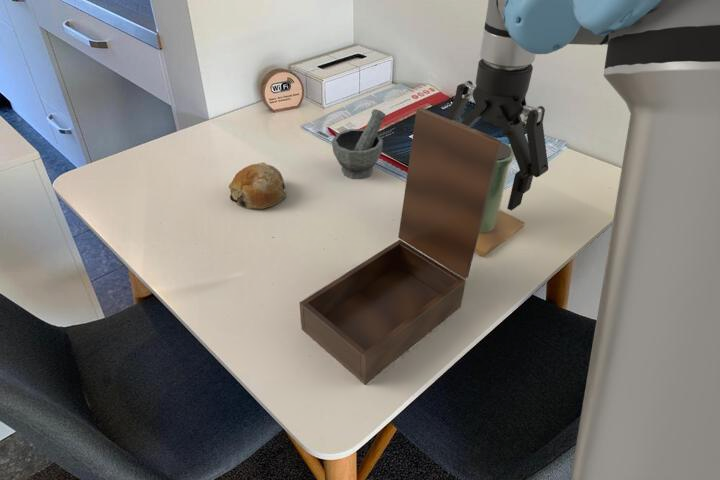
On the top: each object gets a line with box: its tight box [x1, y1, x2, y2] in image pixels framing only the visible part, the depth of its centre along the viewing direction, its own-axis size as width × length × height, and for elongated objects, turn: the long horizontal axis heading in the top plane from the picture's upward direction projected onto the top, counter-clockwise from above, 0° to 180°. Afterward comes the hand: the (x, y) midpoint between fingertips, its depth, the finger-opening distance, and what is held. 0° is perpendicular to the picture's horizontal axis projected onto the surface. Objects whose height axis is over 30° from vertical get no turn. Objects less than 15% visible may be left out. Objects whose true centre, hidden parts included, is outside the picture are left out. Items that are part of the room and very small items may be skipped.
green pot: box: [479, 140, 515, 233], centre depth 86 cm, size 8×8×14 cm
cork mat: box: [474, 209, 525, 258], centre depth 91 cm, size 12×12×1 cm
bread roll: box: [228, 162, 288, 210], centre depth 96 cm, size 10×10×8 cm
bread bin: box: [299, 239, 467, 385], centre depth 73 cm, size 20×13×5 cm, turn 134°
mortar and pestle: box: [331, 108, 387, 180], centre depth 102 cm, size 11×9×12 cm
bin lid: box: [398, 106, 503, 280], centre depth 71 cm, size 20×13×5 cm
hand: (481, 190), depth 87 cm, fingers open, 12 cm apart
